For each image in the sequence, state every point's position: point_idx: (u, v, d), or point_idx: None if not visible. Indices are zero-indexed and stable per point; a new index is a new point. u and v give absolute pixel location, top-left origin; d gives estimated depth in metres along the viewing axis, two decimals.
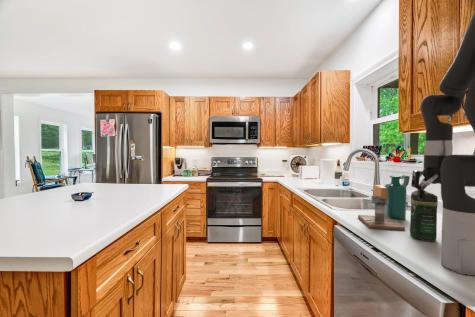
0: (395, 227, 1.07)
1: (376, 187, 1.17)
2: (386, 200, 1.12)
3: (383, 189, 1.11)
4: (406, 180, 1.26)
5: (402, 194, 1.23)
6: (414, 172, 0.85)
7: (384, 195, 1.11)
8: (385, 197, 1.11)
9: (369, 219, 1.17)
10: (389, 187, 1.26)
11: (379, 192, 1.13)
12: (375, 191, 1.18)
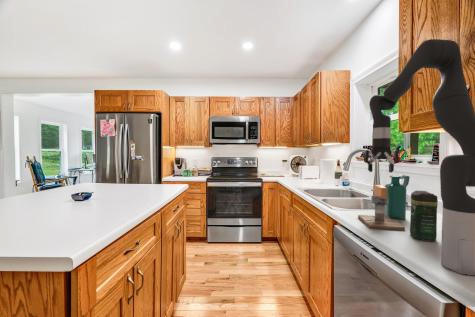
0: (395, 227, 1.07)
1: (376, 187, 1.17)
2: (386, 200, 1.12)
3: (383, 189, 1.11)
4: (406, 180, 1.26)
5: (402, 194, 1.23)
6: (365, 151, 1.16)
7: (384, 195, 1.11)
8: (385, 197, 1.11)
9: (369, 219, 1.17)
10: (389, 187, 1.26)
11: (379, 192, 1.13)
12: (375, 191, 1.18)
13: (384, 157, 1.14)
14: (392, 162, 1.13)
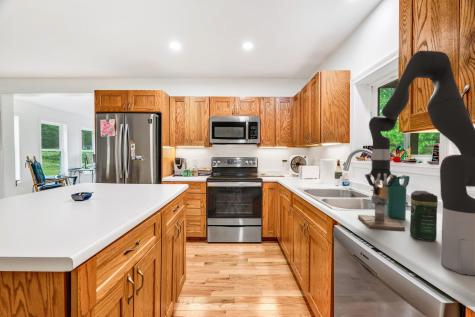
0: (395, 227, 1.07)
1: None
2: (386, 200, 1.12)
3: (383, 189, 1.11)
4: (406, 180, 1.26)
5: (402, 194, 1.23)
6: (365, 176, 1.17)
7: (384, 195, 1.11)
8: (385, 197, 1.11)
9: (369, 219, 1.17)
10: (389, 187, 1.26)
11: (379, 192, 1.13)
12: None
13: (381, 177, 1.14)
14: (385, 186, 1.14)
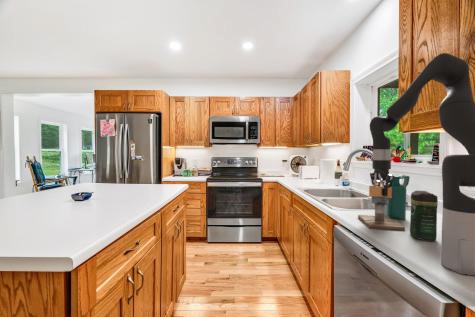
0: (395, 227, 1.07)
1: (377, 188, 1.15)
2: None
3: None
4: (406, 180, 1.26)
5: (402, 194, 1.23)
6: (391, 177, 1.09)
7: None
8: None
9: (369, 219, 1.17)
10: None
11: None
12: (374, 192, 1.15)
13: None
14: None
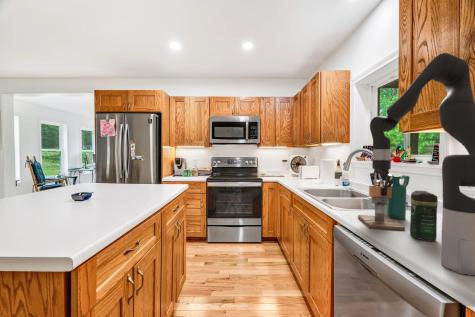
0: (395, 227, 1.07)
1: (377, 188, 1.15)
2: None
3: None
4: (406, 180, 1.26)
5: (402, 194, 1.23)
6: (391, 177, 1.09)
7: None
8: None
9: (369, 219, 1.17)
10: None
11: (387, 192, 1.14)
12: (374, 192, 1.15)
13: None
14: None
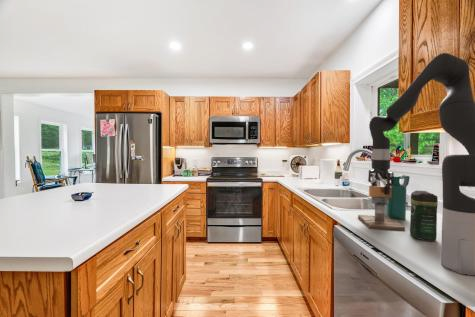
0: (395, 227, 1.07)
1: (377, 188, 1.15)
2: None
3: None
4: (406, 180, 1.26)
5: (402, 194, 1.23)
6: (391, 173, 1.09)
7: None
8: None
9: (369, 219, 1.17)
10: None
11: None
12: (374, 192, 1.15)
13: None
14: None
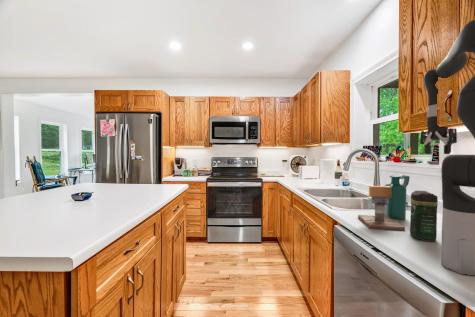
0: (395, 227, 1.07)
1: (378, 188, 1.15)
2: None
3: None
4: (406, 180, 1.26)
5: (402, 194, 1.23)
6: (453, 129, 0.98)
7: None
8: None
9: (369, 219, 1.17)
10: None
11: (387, 192, 1.14)
12: (374, 192, 1.15)
13: None
14: None
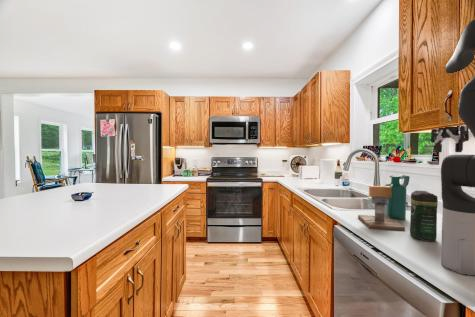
0: (395, 227, 1.07)
1: (378, 188, 1.15)
2: None
3: None
4: (406, 180, 1.26)
5: (402, 194, 1.23)
6: (465, 127, 0.96)
7: None
8: None
9: (369, 219, 1.17)
10: None
11: (387, 192, 1.14)
12: (374, 192, 1.15)
13: None
14: None
